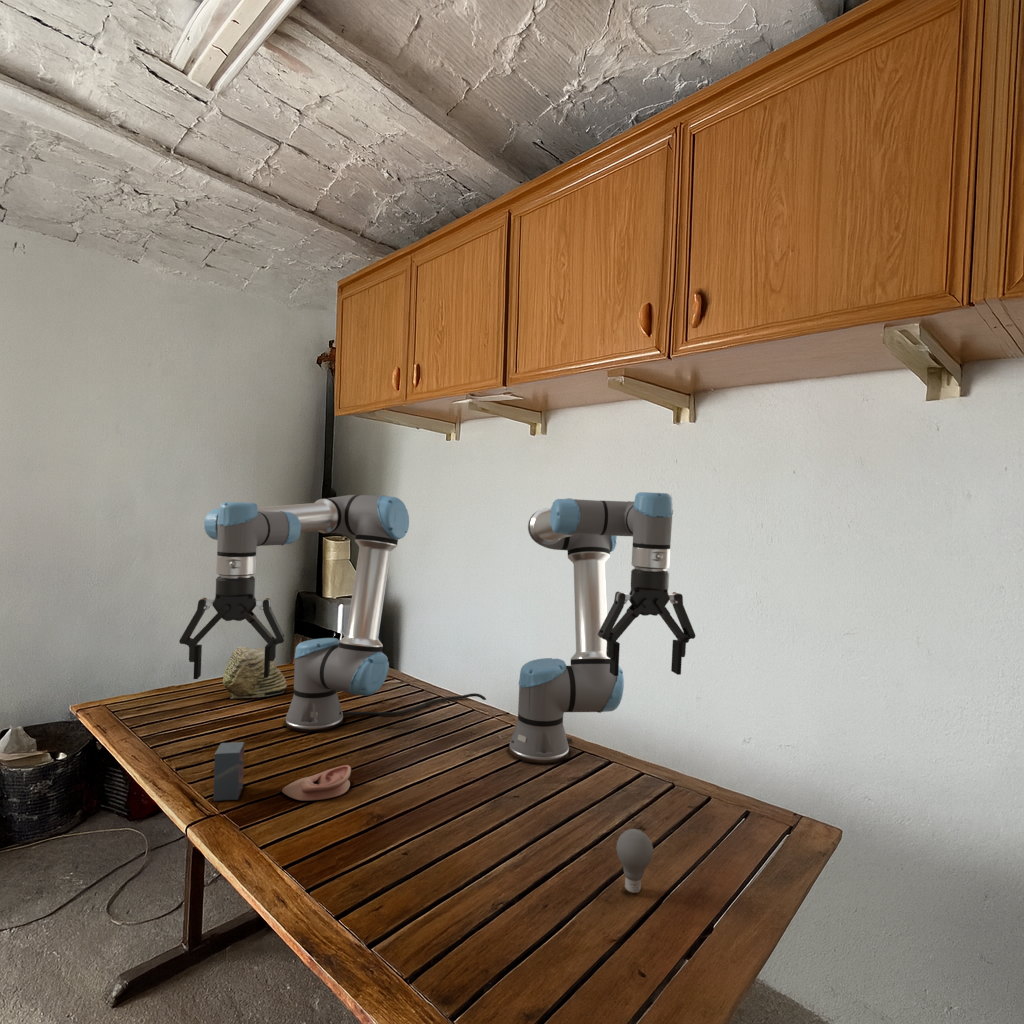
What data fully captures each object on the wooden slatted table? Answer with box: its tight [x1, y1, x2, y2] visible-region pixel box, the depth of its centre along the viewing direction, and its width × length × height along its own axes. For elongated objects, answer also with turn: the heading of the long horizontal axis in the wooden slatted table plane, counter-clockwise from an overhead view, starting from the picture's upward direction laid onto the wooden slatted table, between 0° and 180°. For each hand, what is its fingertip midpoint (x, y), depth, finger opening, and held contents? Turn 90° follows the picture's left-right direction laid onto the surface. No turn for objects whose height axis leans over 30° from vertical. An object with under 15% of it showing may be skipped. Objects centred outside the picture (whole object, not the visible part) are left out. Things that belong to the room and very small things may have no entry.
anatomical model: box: [281, 764, 352, 802], centre depth 137 cm, size 13×4×12 cm
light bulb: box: [615, 828, 654, 894], centre depth 106 cm, size 6×6×10 cm
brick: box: [212, 741, 245, 802], centre depth 133 cm, size 5×6×10 cm
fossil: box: [222, 646, 288, 699], centre depth 198 cm, size 9×18×15 cm, turn 132°
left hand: (232, 676), depth 133 cm, fingers open, 13 cm apart
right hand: (645, 673), depth 128 cm, fingers open, 13 cm apart
